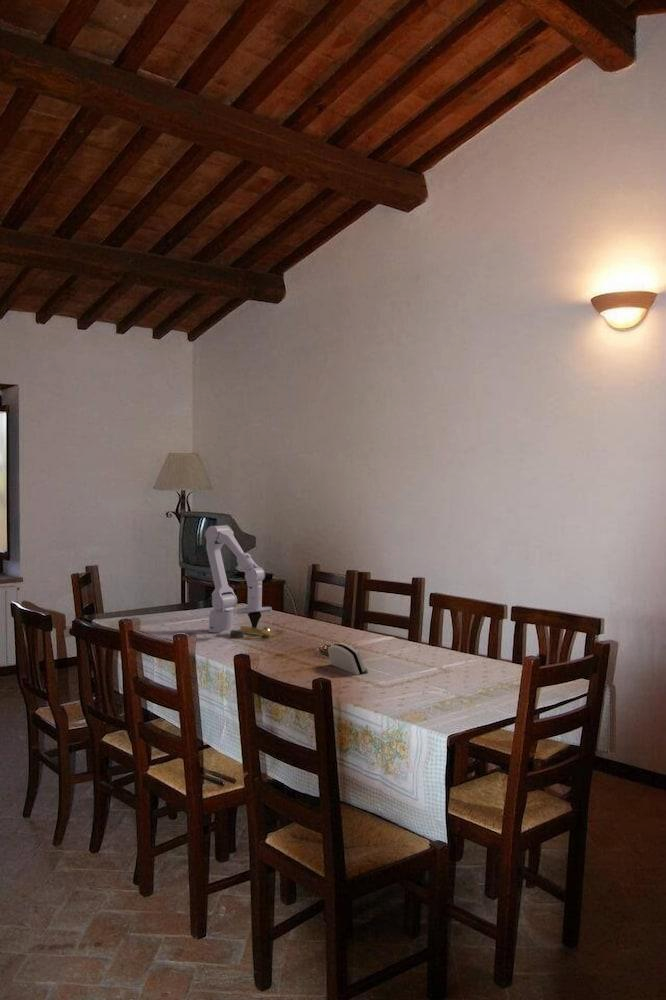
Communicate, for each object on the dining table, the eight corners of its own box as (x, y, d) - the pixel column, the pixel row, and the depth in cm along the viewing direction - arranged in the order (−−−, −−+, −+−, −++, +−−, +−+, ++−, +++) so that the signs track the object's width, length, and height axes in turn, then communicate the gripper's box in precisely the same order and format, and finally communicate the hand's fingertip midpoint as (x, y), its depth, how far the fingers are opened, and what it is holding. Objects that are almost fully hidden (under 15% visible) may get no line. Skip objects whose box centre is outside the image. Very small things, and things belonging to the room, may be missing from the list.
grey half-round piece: (369, 673, 283) (361, 646, 281) (358, 679, 281) (350, 652, 279) (342, 662, 297) (335, 637, 295) (331, 668, 295) (324, 642, 293)
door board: (225, 641, 327) (226, 632, 327) (242, 630, 350) (242, 621, 350) (273, 644, 324) (273, 635, 324) (286, 633, 347) (286, 624, 347)
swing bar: (271, 636, 332) (271, 627, 331) (266, 637, 329) (266, 628, 329) (245, 631, 340) (245, 623, 340) (239, 632, 337) (239, 624, 337)
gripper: (241, 599, 330) (241, 634, 331) (275, 597, 337) (274, 631, 338) (235, 597, 336) (234, 630, 337) (267, 595, 343) (267, 628, 344)
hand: (254, 630), depth 338 cm, fingers closed, pressing on swing bar
